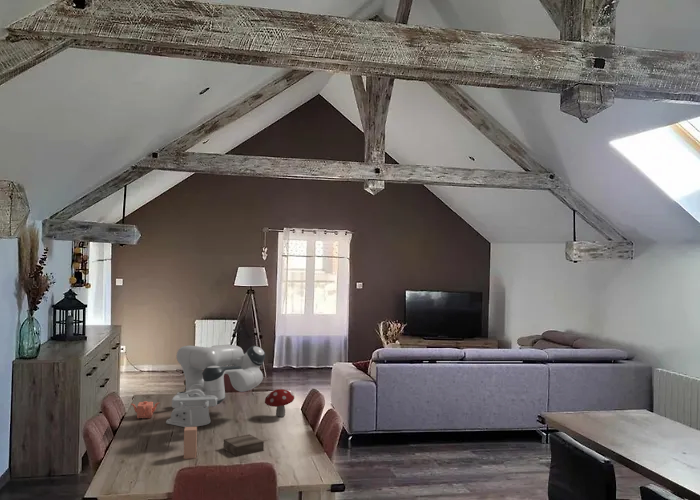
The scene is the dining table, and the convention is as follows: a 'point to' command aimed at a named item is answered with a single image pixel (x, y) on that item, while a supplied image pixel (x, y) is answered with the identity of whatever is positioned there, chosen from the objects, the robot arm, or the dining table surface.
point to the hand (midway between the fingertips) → (194, 405)
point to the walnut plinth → (243, 445)
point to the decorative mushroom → (279, 400)
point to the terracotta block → (190, 442)
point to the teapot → (145, 409)
